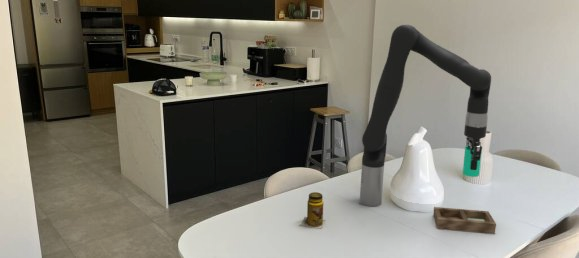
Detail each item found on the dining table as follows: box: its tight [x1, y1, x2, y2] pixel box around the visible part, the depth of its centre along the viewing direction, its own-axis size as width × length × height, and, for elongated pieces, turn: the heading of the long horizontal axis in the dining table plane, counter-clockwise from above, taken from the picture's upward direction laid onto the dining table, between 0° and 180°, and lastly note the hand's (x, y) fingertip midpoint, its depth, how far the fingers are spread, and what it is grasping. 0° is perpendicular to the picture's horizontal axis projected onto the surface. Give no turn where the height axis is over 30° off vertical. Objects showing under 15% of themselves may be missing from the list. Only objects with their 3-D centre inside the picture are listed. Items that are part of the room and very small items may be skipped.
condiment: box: [299, 191, 326, 229], centre depth 168 cm, size 7×8×12 cm
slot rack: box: [432, 206, 497, 235], centre depth 170 cm, size 20×11×4 cm, turn 80°
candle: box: [462, 146, 483, 178], centre depth 167 cm, size 6×6×12 cm
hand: (471, 167), depth 168 cm, fingers closed on candle, 5 cm apart
